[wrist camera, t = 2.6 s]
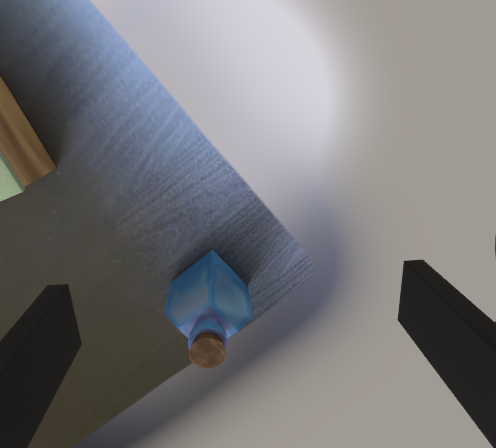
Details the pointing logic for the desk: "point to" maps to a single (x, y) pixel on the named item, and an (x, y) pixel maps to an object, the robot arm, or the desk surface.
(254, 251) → the desk surface
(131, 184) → the desk surface
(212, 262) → the perfume bottle
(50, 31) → the desk surface
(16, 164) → the pale green square pedestal
